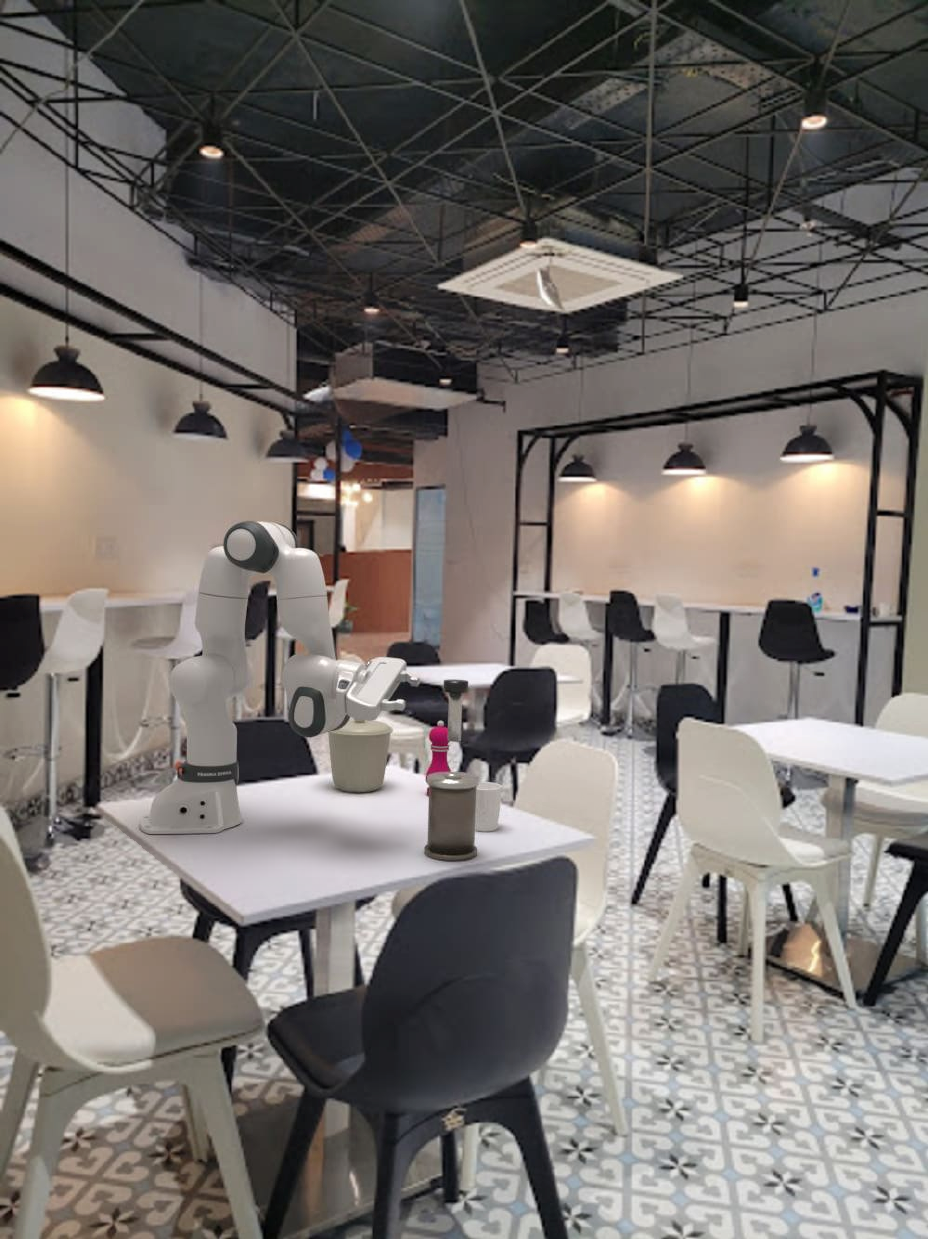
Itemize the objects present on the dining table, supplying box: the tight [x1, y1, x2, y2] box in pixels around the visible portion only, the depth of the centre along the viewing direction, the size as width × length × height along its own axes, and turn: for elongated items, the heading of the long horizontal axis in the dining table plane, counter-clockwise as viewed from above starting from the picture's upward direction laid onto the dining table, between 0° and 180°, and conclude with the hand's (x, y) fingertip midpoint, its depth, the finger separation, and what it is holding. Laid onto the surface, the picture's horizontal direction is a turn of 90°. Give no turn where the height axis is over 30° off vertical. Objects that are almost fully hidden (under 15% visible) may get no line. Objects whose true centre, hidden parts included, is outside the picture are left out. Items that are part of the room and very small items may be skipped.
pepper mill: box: [425, 720, 452, 797], centre depth 241 cm, size 7×7×20 cm
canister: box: [327, 718, 394, 793], centre depth 245 cm, size 18×18×21 cm
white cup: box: [475, 781, 503, 833], centre depth 211 cm, size 8×8×10 cm
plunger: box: [443, 678, 469, 743], centre depth 190 cm, size 5×5×13 cm
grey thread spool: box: [423, 771, 480, 862], centre depth 191 cm, size 11×11×17 cm
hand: (412, 693), depth 195 cm, fingers open, 8 cm apart
